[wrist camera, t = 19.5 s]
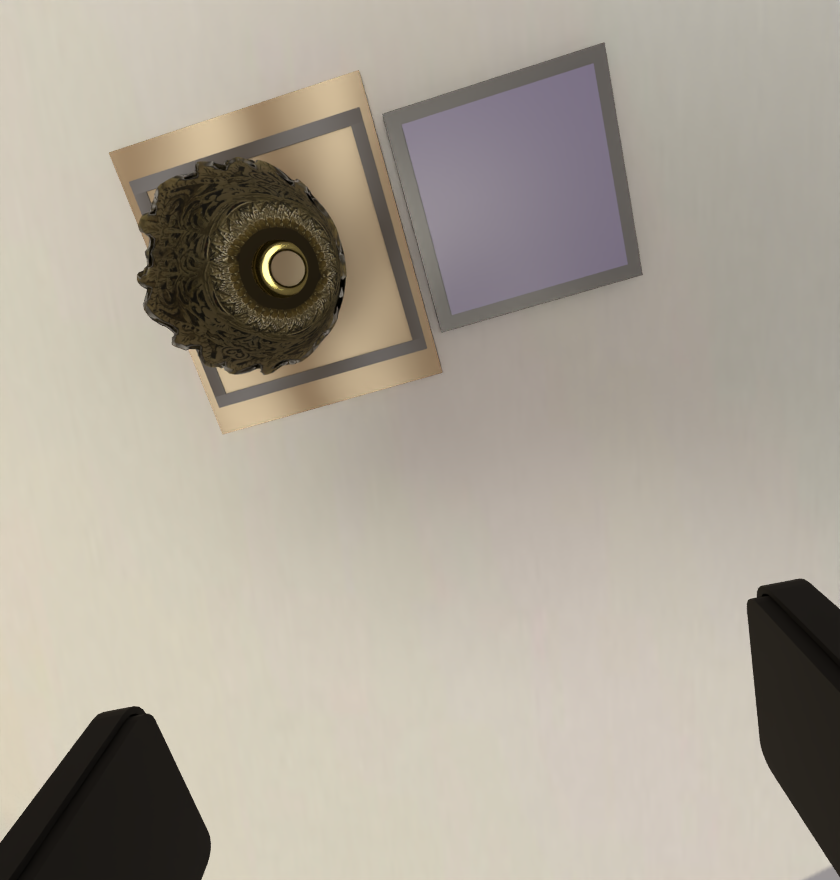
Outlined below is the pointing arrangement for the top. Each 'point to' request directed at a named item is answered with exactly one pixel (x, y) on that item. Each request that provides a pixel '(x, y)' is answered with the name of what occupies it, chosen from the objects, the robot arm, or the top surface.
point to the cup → (241, 265)
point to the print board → (363, 241)
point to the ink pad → (517, 188)
